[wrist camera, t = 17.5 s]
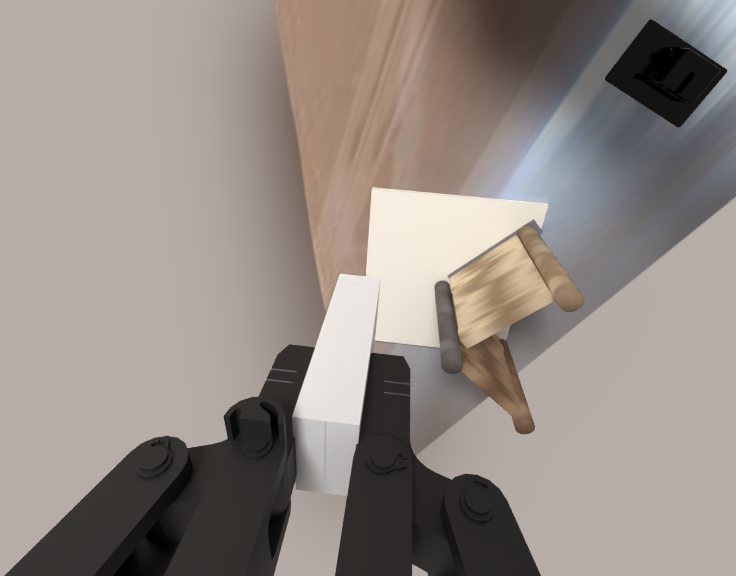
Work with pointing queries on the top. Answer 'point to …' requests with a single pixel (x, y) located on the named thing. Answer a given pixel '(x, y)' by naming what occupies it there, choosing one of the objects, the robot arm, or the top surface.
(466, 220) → the card
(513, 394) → the panel
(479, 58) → the top surface
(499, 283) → the fixed fence section
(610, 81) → the black blocky piece
